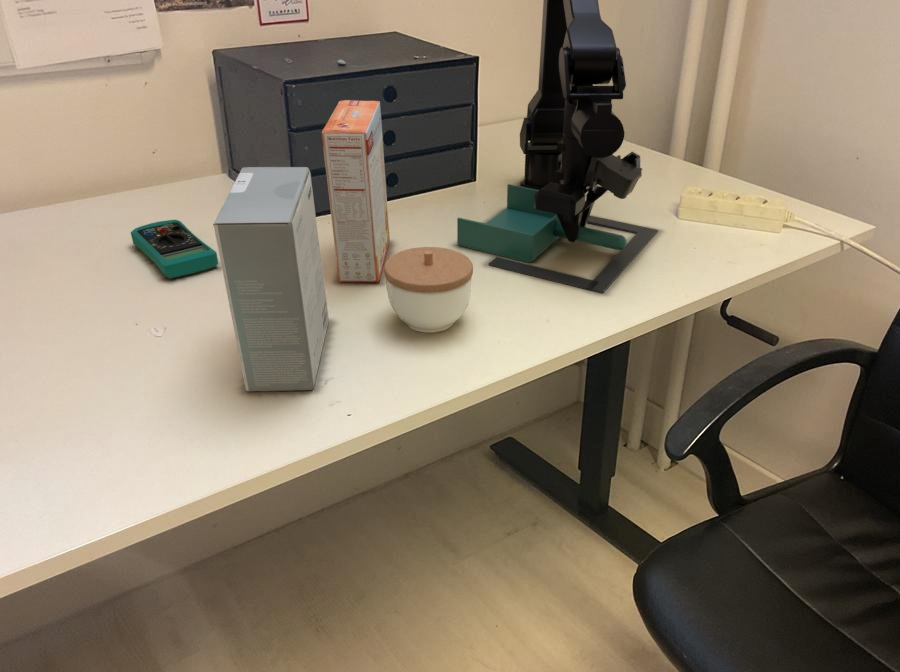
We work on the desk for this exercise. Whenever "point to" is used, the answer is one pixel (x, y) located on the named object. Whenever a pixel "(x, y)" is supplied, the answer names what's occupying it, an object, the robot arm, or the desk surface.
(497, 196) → the desk surface
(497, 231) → the dustpan
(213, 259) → the digital multimeter
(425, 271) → the trinket box
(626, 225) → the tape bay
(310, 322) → the hard drive box
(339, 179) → the cracker box
